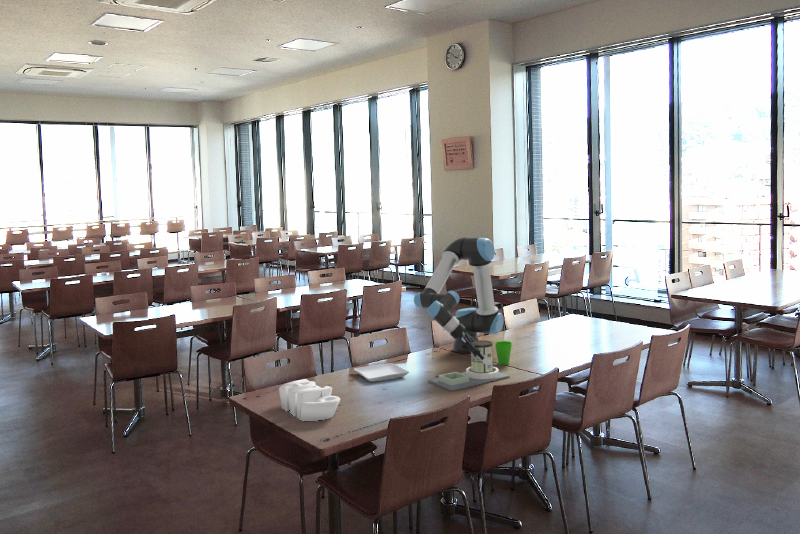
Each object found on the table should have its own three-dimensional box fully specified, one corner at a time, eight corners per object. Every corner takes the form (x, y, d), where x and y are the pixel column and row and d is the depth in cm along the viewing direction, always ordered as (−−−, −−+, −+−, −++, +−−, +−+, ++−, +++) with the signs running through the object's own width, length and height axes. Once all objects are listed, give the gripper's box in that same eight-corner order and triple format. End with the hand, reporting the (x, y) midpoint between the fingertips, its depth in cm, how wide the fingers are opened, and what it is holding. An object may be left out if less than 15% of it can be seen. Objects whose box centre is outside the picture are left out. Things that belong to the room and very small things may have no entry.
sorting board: (428, 382, 314) (428, 374, 313) (484, 369, 332) (484, 362, 331) (451, 391, 299) (451, 383, 298) (509, 377, 317) (509, 370, 316)
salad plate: (352, 374, 332) (352, 367, 332) (392, 368, 340) (392, 361, 340) (368, 385, 313) (368, 378, 312) (410, 378, 321) (409, 371, 321)
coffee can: (475, 368, 326) (474, 339, 324) (495, 370, 322) (495, 341, 320) (468, 373, 317) (467, 344, 315) (489, 375, 312) (488, 345, 311)
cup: (512, 366, 336) (512, 345, 334) (494, 366, 338) (493, 344, 336) (513, 361, 344) (512, 340, 343) (495, 361, 346) (494, 340, 345)
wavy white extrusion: (274, 404, 289) (273, 380, 287) (310, 397, 297) (309, 373, 296) (306, 427, 259) (305, 401, 257) (345, 419, 267) (344, 393, 266)
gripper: (450, 328, 330) (482, 359, 330) (447, 338, 308) (482, 372, 308) (460, 317, 329) (493, 349, 329) (459, 327, 307) (494, 361, 306)
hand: (488, 360), depth 318 cm, fingers closed on coffee can, 10 cm apart
